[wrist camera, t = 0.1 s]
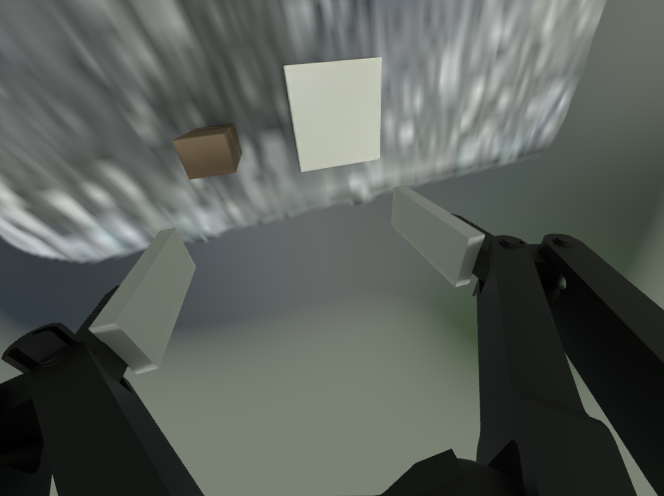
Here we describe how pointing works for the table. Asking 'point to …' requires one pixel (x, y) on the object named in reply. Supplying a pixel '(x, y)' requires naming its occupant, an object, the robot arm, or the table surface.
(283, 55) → the table surface
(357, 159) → the plate
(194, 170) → the walnut block
